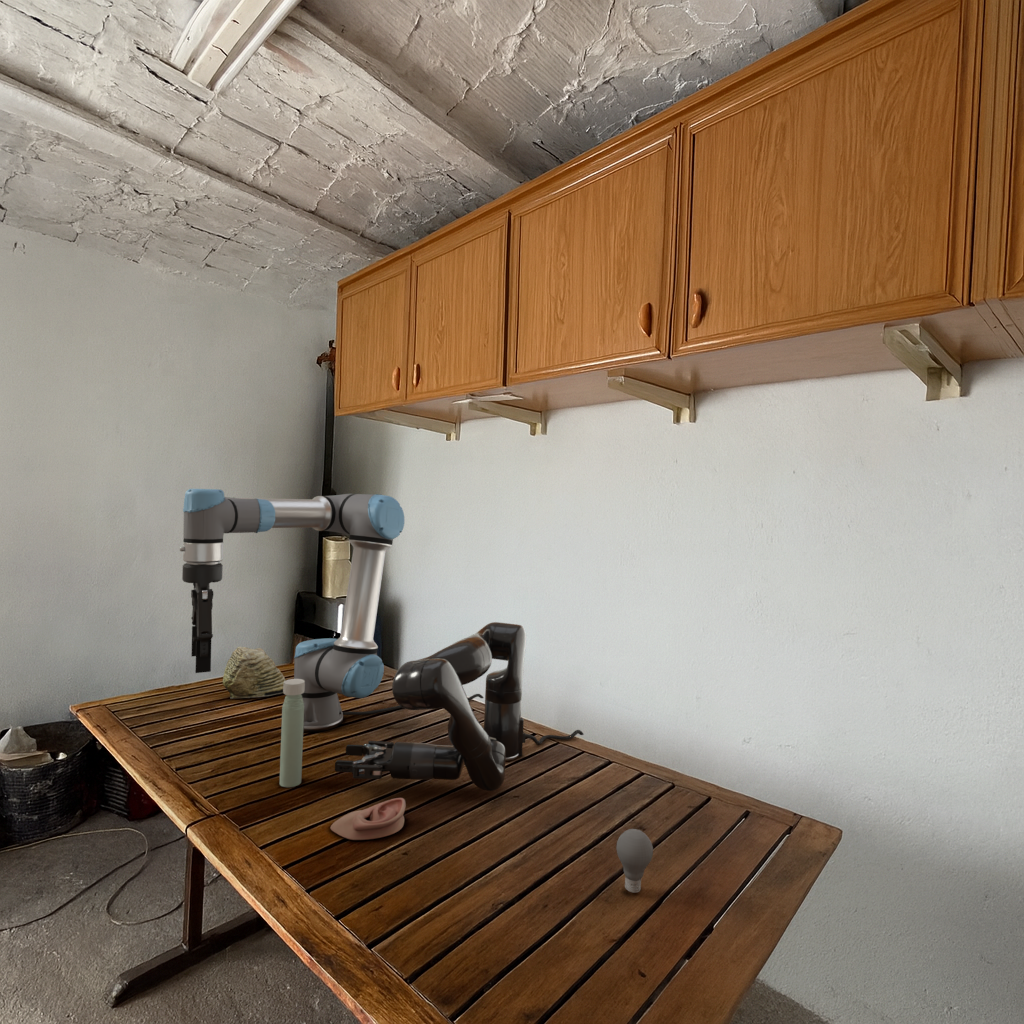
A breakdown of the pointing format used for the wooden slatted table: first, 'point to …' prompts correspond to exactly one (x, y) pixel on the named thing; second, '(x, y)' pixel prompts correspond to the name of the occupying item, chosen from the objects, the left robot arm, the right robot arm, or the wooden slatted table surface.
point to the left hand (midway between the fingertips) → (200, 663)
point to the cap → (294, 687)
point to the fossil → (252, 674)
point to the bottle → (291, 741)
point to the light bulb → (634, 857)
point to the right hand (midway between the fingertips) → (340, 757)
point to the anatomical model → (372, 821)
